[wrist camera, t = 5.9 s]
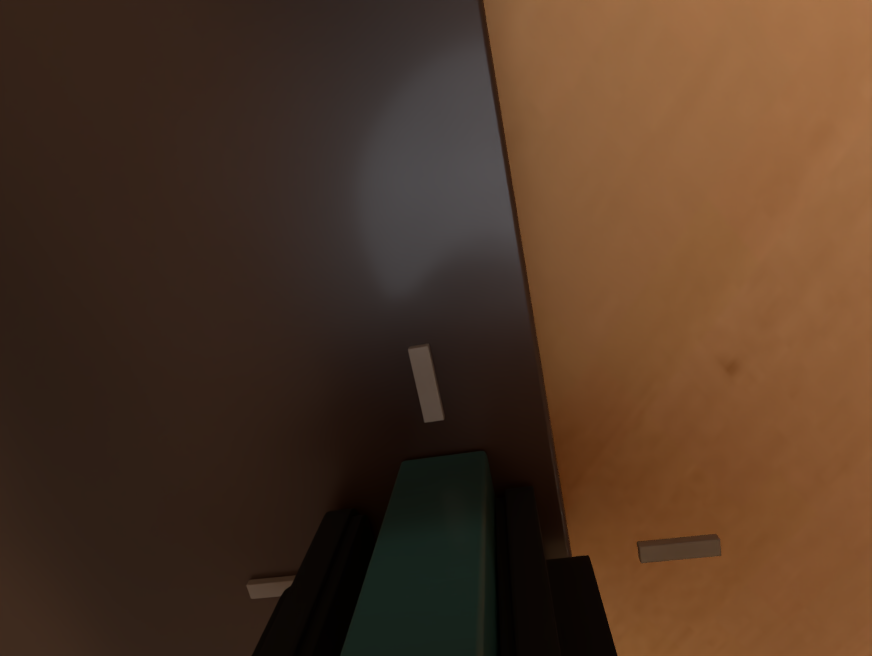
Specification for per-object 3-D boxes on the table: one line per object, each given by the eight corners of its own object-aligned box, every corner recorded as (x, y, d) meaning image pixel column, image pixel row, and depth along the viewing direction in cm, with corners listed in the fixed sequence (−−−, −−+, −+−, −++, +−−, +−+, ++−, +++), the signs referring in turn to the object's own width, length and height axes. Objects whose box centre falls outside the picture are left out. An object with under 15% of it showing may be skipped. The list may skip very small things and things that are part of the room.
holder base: (574, -433, 8) (625, -799, 5) (679, 612, 13) (734, 739, 10) (-372, -65, 11) (-692, -156, 8) (10, 663, 16) (-98, 772, 13)
